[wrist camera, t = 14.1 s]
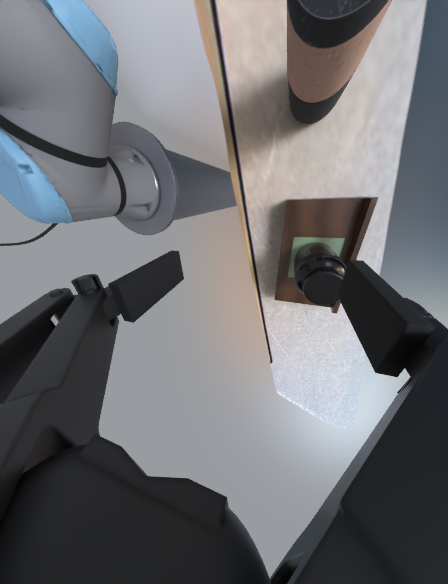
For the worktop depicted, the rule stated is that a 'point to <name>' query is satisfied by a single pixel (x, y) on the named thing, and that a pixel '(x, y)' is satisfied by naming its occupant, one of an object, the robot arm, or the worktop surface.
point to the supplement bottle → (318, 273)
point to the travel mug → (326, 50)
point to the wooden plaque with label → (321, 236)
